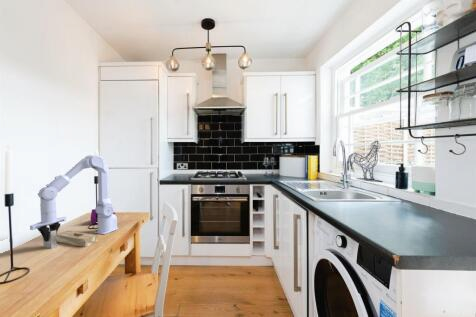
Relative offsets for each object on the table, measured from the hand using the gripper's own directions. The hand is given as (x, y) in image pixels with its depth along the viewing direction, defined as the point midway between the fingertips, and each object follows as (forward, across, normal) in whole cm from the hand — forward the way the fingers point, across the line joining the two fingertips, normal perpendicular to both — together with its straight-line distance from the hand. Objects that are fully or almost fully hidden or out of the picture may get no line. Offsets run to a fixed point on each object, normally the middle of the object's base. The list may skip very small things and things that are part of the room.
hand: (49, 240), depth 113 cm
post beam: (+3, -8, +6) cm, 11 cm away
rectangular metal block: (+3, 0, 0) cm, 3 cm away
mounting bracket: (+4, -41, -13) cm, 43 cm away
